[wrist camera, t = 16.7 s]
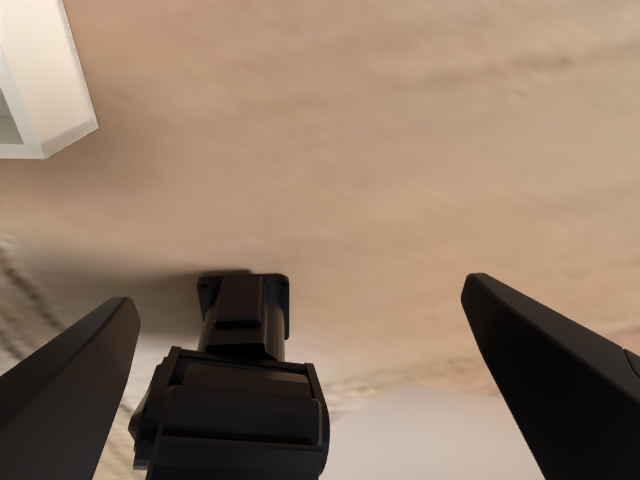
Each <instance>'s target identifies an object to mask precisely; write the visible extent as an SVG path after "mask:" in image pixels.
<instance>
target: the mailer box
mask: <svg viewBox="0 0 640 480" xmlns="http://www.w3.org/2000/svg"><path fill="white" fill-rule="evenodd" d="M98 128H99V126H98V123H97V119H96V116H95V112H94V109H93V105H92V102H91V98H90V95H89V92H88V88H87V85H86V81H85V78H84V74H83V71H82V68H81V64H80V61H79V57H78V54H77V50H76V47H75V43H74V40H73V37H72V33H71V30H70V26H69V23H68V19H67V16H66V13H65V9H64V6H63V2H62V0H0V158H6V159H47V158H49V157H50V156H52V155H54V154H55V153H57V152H59V151H60V150H62V149H64V148H65V147H67V146H69V145H71V144H72V143H74V142H76V141H77V140H79V139H81V138H82V137H84V136H86V135H87V134H89V133H91V132H93V131H94V130H96V129H98Z"/></svg>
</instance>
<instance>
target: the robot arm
mask: <svg viewBox="0 0 640 480" xmlns="http://www.w3.org/2000/svg"><path fill="white" fill-rule="evenodd" d="M282 281H283V282H285V283H280V282H282ZM203 283H205V284H207V285H203ZM197 290H198V295H199V300H200V306H201V311H202V317H203V322H204V324H203V328H202V332H201V336H200V340H199V344H198V348H197V351H195V350H187V349H181V347H176V346H172V347H171V350H170V352H169V354H168V357H164V359H163V361H162V363H161V364H159V365H157V366H156V369H155V372H154V374H153V377H152V380H151V383H150V385H149V388H148V390H147V392H146V394H145V396H144V397H143V399H142V401H141V402H140V404H139V405H138V407H137V409H136V410H135V412H134V414H133V415H132V417H131V420H130V423H129V426H128V431H129V432H130V434H131V436H132V437H133V439H134V441H135V444H134V452H135V458H134V464H133V469H134V470H148V471H147V475H146V479H145V480H318V477H319V476H320V475H321V474H322V472H323V470H324V468H325V464H326V461H327V456H328V451H329V441H330V439H329V438H330V421H329V413H328V409H327V405H326V402H325V399H324V396H323V393H322V389H321V386H320V383H319V380H318V377H317V374H316V371H315V368H314V364H312V363H304V364H300V363H292V362H285V348H284V340H287V339H288V338H289V278H288V277H287V276H283V275H275V276H230V277H202V278H200V279H199V280H198V283H197ZM461 303H462V306H463V309H464V312H465V314H466V317H467V319H468V322H469V325H470V327H471V330H472V333H473V335H474V338H475V340H476V343H477V345H478V348H479V350H480V353H481V355H482V357H483V359H484V361H485V363H486V365H487V367H488V369H489V371H490V372H491V374H492V376H493V378H494V380H495V382H496V384H497V386H498V388H499V390H500V392H501V394H502V396H503V398H504V400H505V402H506V404H507V406H508V408H509V409H510V411H511V413H512V415H513V417H514V419H515V421H516V423H517V425H518V427H519V429H520V431H521V433H522V435H523V437H524V439H525V441H526V443H527V445H528V447H529V449H530V450H531V452H532V454H533V456H534V458H535V460H536V462H537V464H538V466H539V468H540V470H541V472H542V474H543V476H544V478H545V480H640V356H638V355H636V354H634V353H632V352H630V351H629V350H627V349H622V347H621V346H619V345H617V344H615V343H614V342H612V341H610V340H608V339H606V338H604V337H602V336H601V335H599V334H597V333H595V332H593V331H591V330H589V329H588V328H586V327H584V326H582V325H580V324H578V323H576V322H575V321H573V320H571V319H569V318H567V317H565V316H563V315H562V314H560V313H558V312H556V311H554V310H552V309H550V308H548V307H547V306H545V305H543V304H541V303H539V302H537V301H535V300H534V299H532V298H530V297H528V296H526V295H524V294H522V293H521V292H519V291H517V290H515V289H513V288H511V287H509V286H508V285H506V284H504V283H502V282H500V281H498V280H496V279H495V278H493V277H491V276H489V275H487V274H485V273H471V274H468V276H467V277H466V280H465V284H464V287H463V290H462V294H461ZM139 331H140V318H139V315H138V313H137V310H136V308H135V305H134V303H133V300H132V299H131V298H130V297H129V296H119V297H112V298H110V299H109V300H107V301H106V302H104V303H103V304H102V305H100V306H99V307H97V308H96V309H94V310H93V311H92V312H90V313H89V314H87V315H86V316H85V317H83V318H82V319H80V320H79V321H78V322H76V323H75V324H73V325H72V326H71V327H69V328H68V329H66V330H65V331H64V332H62V333H61V334H59V335H58V336H56V337H55V338H54V339H52V340H51V341H49V342H48V343H47V344H45V345H44V346H42V347H41V348H40V349H38V350H37V351H35V352H34V353H33V354H31V355H30V356H28V357H27V358H26V359H24V360H23V361H21V362H20V363H18V364H17V365H16V366H14V367H13V368H11V369H10V370H9V371H7V372H6V373H4V374H3V375H2V376H0V480H92V478H93V476H94V473H95V470H96V467H97V465H98V462H99V459H100V456H101V454H102V451H103V448H104V445H105V443H106V440H107V437H108V434H109V431H110V429H111V426H112V423H113V420H114V418H115V415H116V412H117V409H118V407H119V404H120V401H121V398H122V396H123V393H124V390H125V387H126V384H127V380H128V377H129V373H130V369H131V364H132V360H133V356H134V352H135V347H136V343H137V339H138V335H139Z"/></svg>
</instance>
